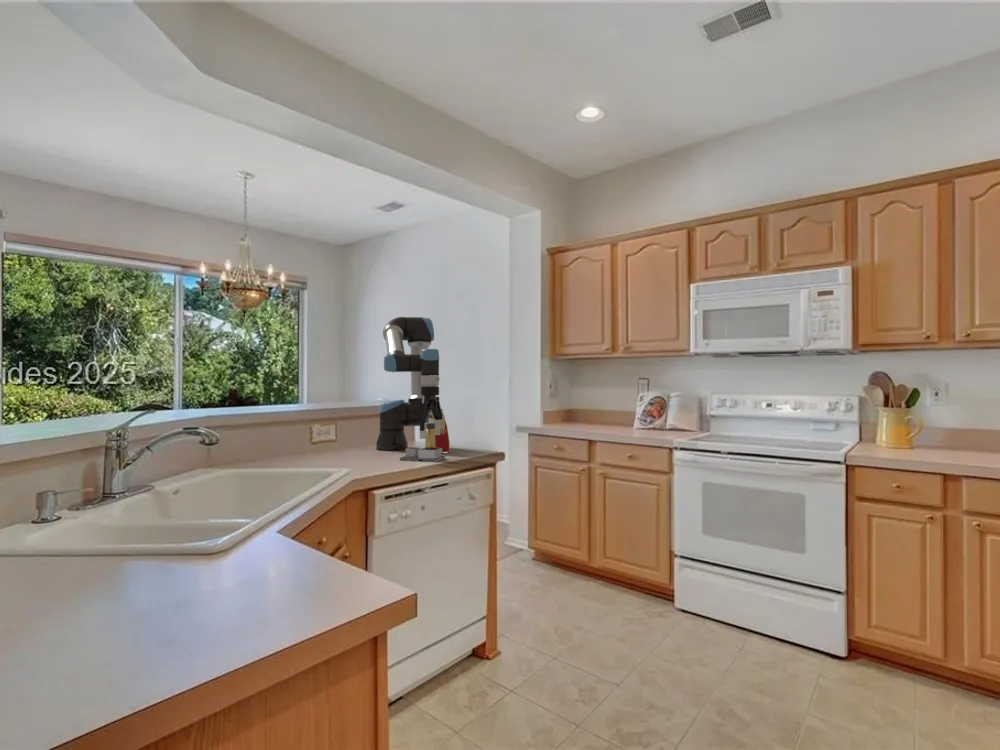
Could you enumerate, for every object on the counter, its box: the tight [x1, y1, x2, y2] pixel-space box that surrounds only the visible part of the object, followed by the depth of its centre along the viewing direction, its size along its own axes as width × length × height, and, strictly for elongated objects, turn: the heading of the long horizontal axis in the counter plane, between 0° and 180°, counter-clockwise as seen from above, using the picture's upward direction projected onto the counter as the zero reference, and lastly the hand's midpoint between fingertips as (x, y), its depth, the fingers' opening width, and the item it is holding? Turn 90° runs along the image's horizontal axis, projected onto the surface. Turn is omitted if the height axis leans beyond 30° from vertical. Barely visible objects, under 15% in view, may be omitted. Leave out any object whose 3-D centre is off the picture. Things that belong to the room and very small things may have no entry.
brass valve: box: [424, 423, 435, 450], centre depth 215 cm, size 4×4×14 cm
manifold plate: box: [399, 446, 446, 462], centre depth 216 cm, size 10×16×4 cm, turn 73°
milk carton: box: [429, 408, 451, 454], centre depth 236 cm, size 9×9×20 cm
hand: (430, 436), depth 215 cm, fingers open, 13 cm apart
